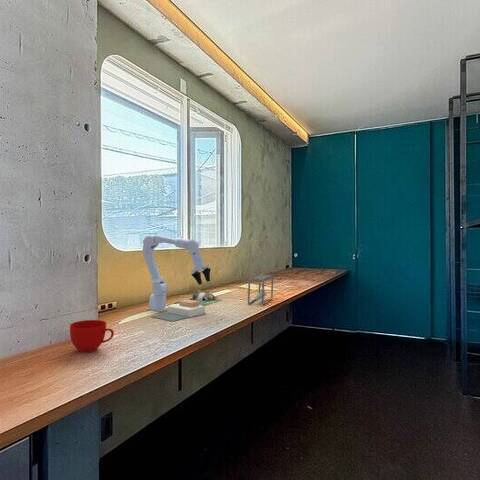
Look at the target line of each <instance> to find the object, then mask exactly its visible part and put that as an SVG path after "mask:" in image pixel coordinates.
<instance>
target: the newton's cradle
mask: <svg viewBox="0 0 480 480" xmlns="http://www.w3.org/2000/svg"><path fill="white" fill-rule="evenodd" d="M269 278H271V290H270V297H269V298H270V299H271V298H272V299H273V296H274V275H273V274H267V275H262V274H261V273H258V274H256V275H252V276H251V277H249V278H248V281H247V304H248V305H249V304H250V303H251V304H253V303H254V302H256V301H260V300H261V306H262V305H264V304H265V303H266V302H267V301H269V300H270V299H268V300H267V301H265V302H264V299H265V298H266V296H267V292H266V288H265V287H266V285H267V284H266V283H265V282H267V281H268V279H269ZM251 280H255V281H256V284H258V285H255V286H256V288H258V289H257V291H258V292H256V293H257V294H256V295H255V297H254V299H253V300H251V301H250V296H251V295H250V294H251ZM255 300H256V301H255ZM253 301H254V302H253ZM270 301H271V300H270ZM270 301H269V302H270ZM252 302H253V303H252ZM251 304H250V305H251ZM266 304H267V303H266ZM266 304H265V305H266ZM265 305H264V306H265Z"/></svg>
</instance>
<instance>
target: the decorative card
mask: <svg viewBox="0 0 480 480" xmlns="http://www.w3.org/2000/svg"><path fill="white" fill-rule="evenodd" d="M217 298H218V296H215V295H214V294H213V293H211V292H210V291H209V289H207V290H205V292H202V290H201V289H199V288H197V289H195V291H194V292H193V294H192V296H191V298H188V300H194V301H199V305H201V306H205V307H207V306H209V305H212V304H216V303H218V302H221V301H223V300H222V299H217ZM175 304H179V301H178V302H174V303H173V305H175Z"/></svg>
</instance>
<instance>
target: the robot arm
mask: <svg viewBox="0 0 480 480" xmlns="http://www.w3.org/2000/svg"><path fill="white" fill-rule="evenodd" d="M162 243H163V244H164V243H165V244H170V245H171V244H172V245H175V248H178V249H179V248H180V249H184V250H188V251H189V253H190V256H191V260H192V263H193V267H194V269H191V270H190V272H191V273H190V274H191V276H192V277H193V278H194V279H195V281H196V283H197V284H198V285H199V286H200V285H203V281H202V275H203V276H204V279H205V281H206V282H210V281H211V267H210V265H209V264H206V265H205V262H204V260H203V257H202V256H203V255H202V254H201V251H200V242H198V241H197V240H196V239H193V240H192V239H191V238H184V237H183V236H180V237H177V238H172V237H168V236H164V235H147V236H145V237H144V239H143V240H142V244H143V245H142V255H143V259H144V261H145V263H146V267H147V269H148V272H149V275H150V278H151V287H152V289H151V290H152V294H151V295H150V296H149V301H148V302H149V304H148V308H147V309H148V310H150V311H151V310H152V311H157V312H163V311H167V291H168V289H169V286H168V284H167V283H166V281H165V279H164V278H162V276H161V273H160V270H159V267H158V264H157V262H156V259H155V257H154V253H153V252H154V250H155V248H157V247H158V246H159V244H162ZM201 273H202V274H201Z"/></svg>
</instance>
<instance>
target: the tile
mask: <svg viewBox="0 0 480 480" xmlns="http://www.w3.org/2000/svg"><path fill="white" fill-rule="evenodd" d="M188 299H189V298H188ZM188 299H182V300H179V301H178V302H179V305H180V306H186V307H191V308H192V307H196V306H199V301H194V300H188Z"/></svg>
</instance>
